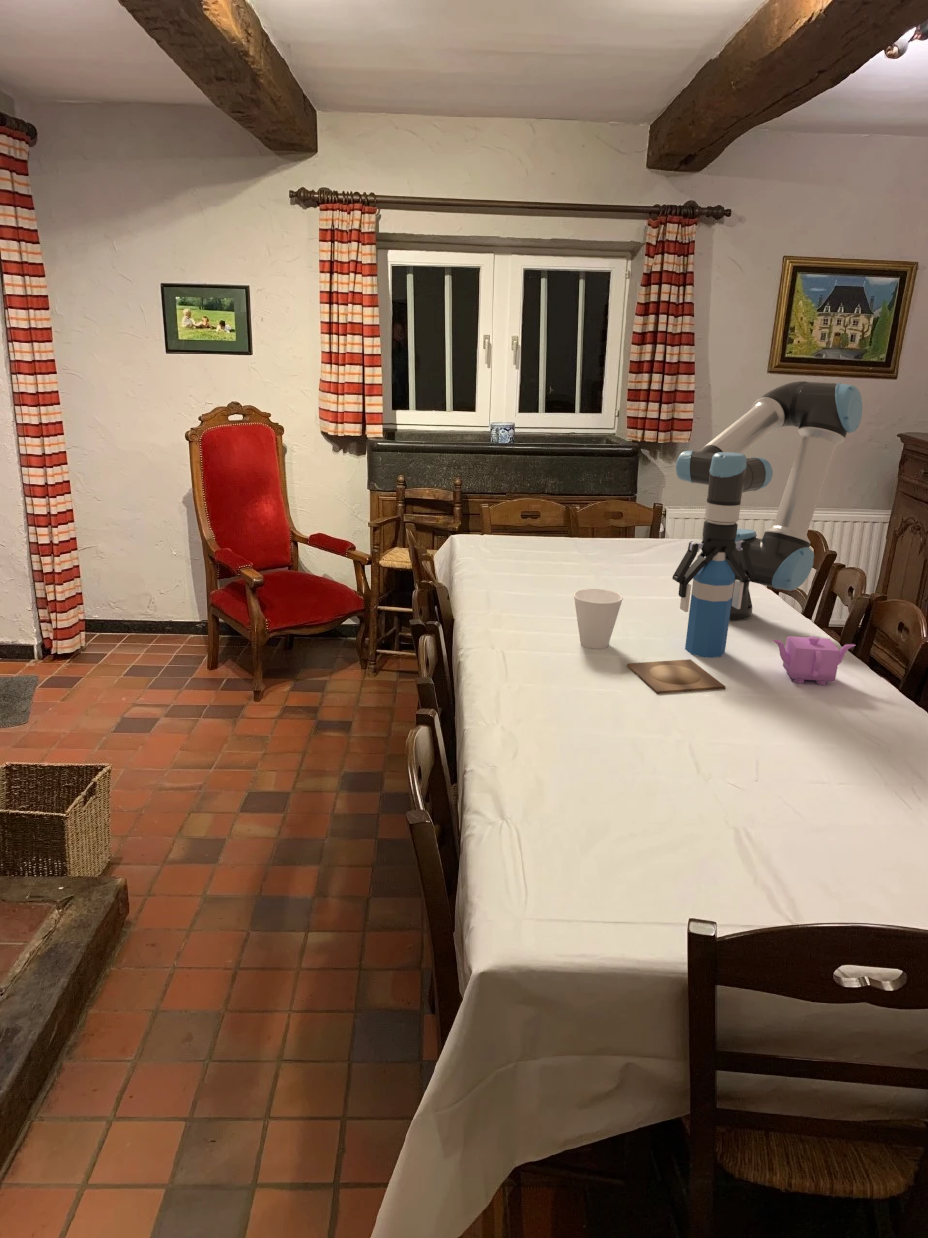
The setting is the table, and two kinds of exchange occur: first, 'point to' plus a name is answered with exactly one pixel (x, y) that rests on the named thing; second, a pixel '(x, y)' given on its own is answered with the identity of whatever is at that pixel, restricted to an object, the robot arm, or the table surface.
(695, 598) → the water bottle
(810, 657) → the teapot
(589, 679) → the table surface
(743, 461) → the robot arm
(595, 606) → the cup
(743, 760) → the table surface
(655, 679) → the plate
